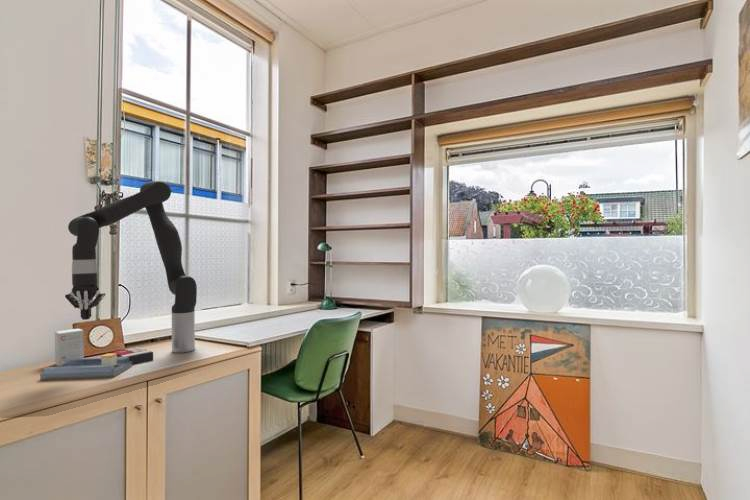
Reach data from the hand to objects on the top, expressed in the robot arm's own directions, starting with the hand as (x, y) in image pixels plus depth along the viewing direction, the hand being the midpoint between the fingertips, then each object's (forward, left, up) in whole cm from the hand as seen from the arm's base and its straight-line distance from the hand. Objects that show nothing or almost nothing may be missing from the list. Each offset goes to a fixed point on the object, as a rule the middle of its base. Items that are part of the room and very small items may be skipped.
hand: (86, 319), depth 146 cm
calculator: (-16, +8, -20) cm, 27 cm away
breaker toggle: (0, +8, -17) cm, 19 cm away
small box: (-14, -14, -20) cm, 28 cm away
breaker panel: (0, +1, -20) cm, 20 cm away
